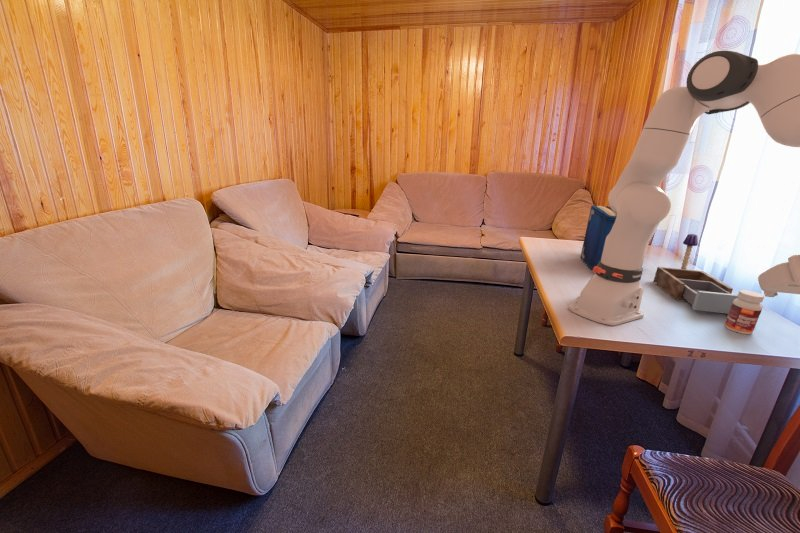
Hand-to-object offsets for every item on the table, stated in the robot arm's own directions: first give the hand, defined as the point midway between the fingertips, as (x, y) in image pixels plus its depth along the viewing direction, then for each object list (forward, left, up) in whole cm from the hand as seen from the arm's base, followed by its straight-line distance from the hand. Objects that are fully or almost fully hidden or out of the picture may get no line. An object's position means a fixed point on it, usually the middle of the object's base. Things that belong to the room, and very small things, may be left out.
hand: (790, 296), depth 88 cm
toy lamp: (+53, +34, -16) cm, 65 cm away
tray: (+23, +19, -14) cm, 33 cm away
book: (+29, +58, -16) cm, 67 cm away
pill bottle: (+9, +7, -16) cm, 19 cm away
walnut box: (+30, +25, -15) cm, 43 cm away
